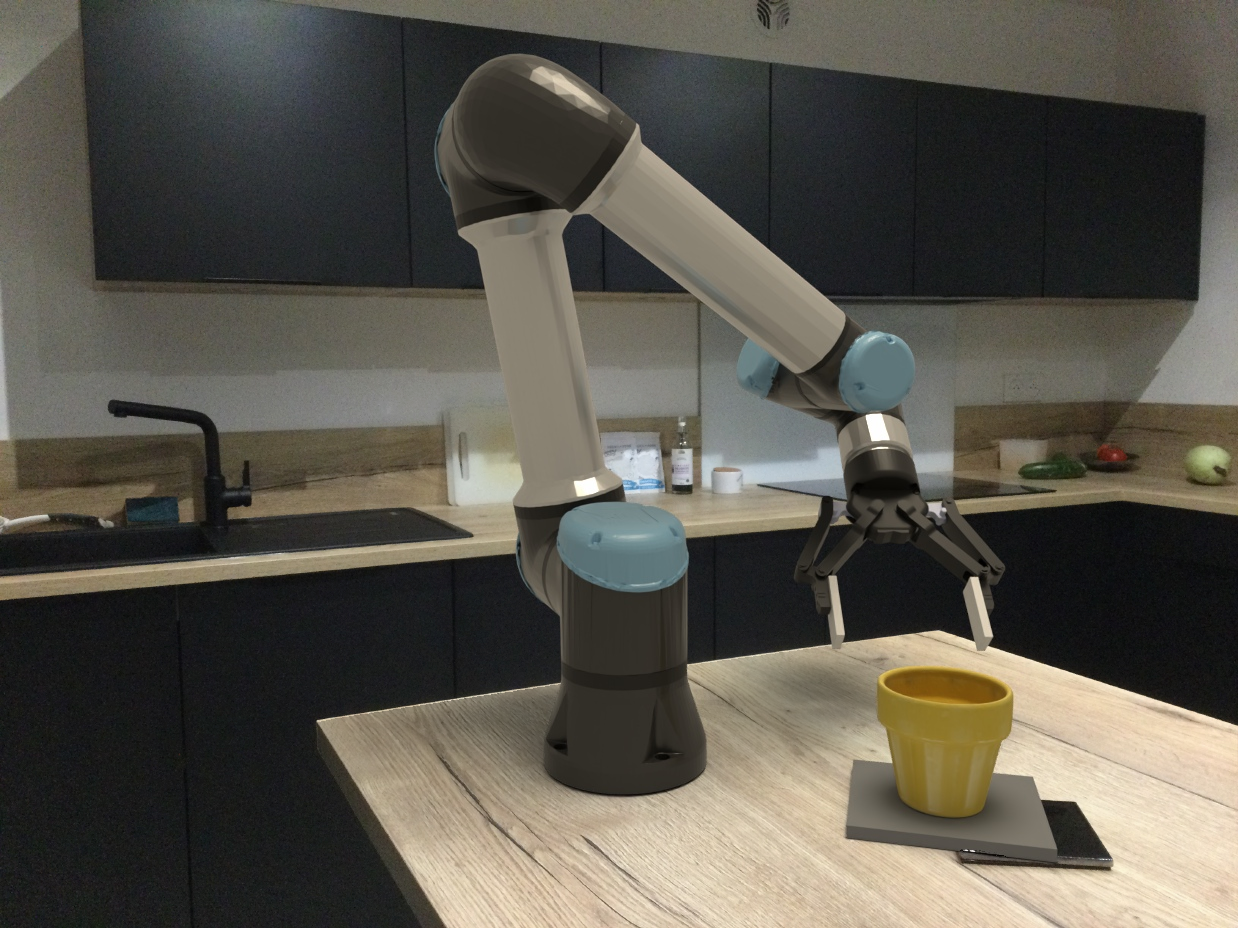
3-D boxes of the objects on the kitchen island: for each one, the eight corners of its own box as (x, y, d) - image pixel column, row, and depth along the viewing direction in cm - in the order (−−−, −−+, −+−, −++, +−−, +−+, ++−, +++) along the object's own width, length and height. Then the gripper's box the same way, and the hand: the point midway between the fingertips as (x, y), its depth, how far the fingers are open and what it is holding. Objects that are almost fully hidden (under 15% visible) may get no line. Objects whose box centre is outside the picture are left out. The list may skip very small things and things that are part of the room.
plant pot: (951, 765, 85) (953, 657, 84) (1039, 816, 75) (1043, 694, 74) (850, 784, 82) (852, 671, 81) (929, 839, 72) (932, 712, 71)
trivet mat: (846, 837, 74) (846, 825, 74) (853, 769, 87) (853, 759, 87) (1057, 862, 70) (1057, 849, 70) (1032, 787, 83) (1032, 776, 83)
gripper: (985, 489, 106) (1033, 663, 93) (758, 487, 107) (773, 660, 93) (1005, 445, 100) (1060, 624, 87) (765, 444, 101) (782, 621, 87)
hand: (911, 643), depth 90 cm, fingers open, 13 cm apart
